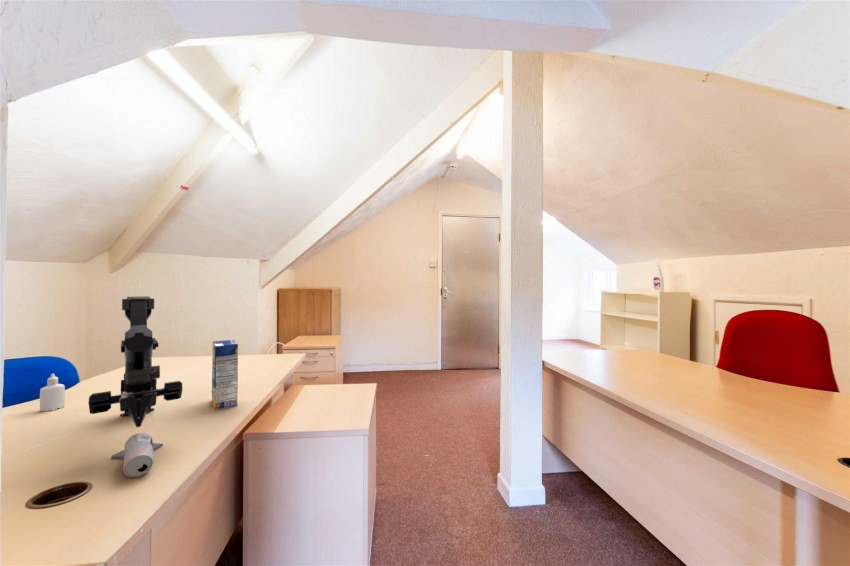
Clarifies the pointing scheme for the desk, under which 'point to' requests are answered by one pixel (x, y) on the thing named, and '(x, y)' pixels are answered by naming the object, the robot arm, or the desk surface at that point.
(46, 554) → the desk surface
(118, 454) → the rubber coaster
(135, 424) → the robot arm
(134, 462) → the energy drink
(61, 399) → the eye dropper bottle
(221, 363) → the beverage box
